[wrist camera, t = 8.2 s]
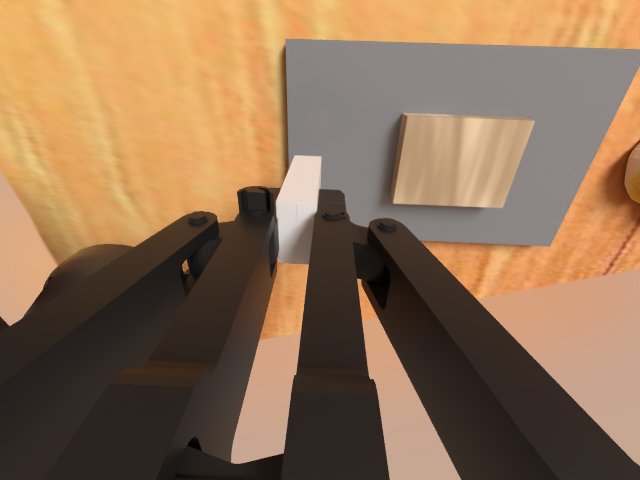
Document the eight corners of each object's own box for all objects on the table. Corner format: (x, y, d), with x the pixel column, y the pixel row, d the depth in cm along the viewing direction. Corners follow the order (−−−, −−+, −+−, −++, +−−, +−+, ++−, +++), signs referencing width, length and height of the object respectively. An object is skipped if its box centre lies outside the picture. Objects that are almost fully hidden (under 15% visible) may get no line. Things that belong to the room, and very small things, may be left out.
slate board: (292, 228, 26) (290, 234, 25) (287, 40, 19) (285, 38, 18) (541, 239, 26) (549, 246, 25) (630, 50, 19) (647, 49, 18)
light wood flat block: (393, 203, 22) (502, 208, 22) (407, 116, 19) (535, 120, 19) (389, 195, 23) (492, 199, 23) (402, 112, 20) (521, 117, 20)
